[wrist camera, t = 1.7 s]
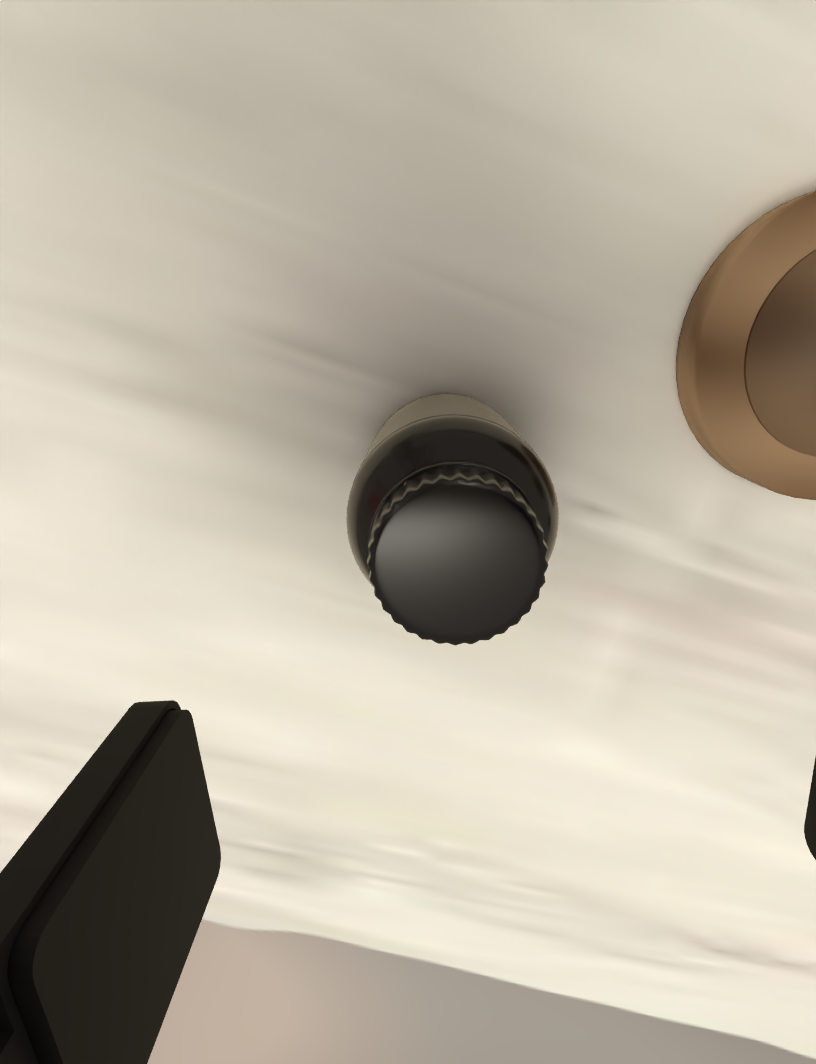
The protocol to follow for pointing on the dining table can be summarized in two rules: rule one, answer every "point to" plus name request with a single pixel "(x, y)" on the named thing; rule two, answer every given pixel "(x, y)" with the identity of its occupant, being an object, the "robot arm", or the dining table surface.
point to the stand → (757, 353)
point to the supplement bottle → (452, 520)
